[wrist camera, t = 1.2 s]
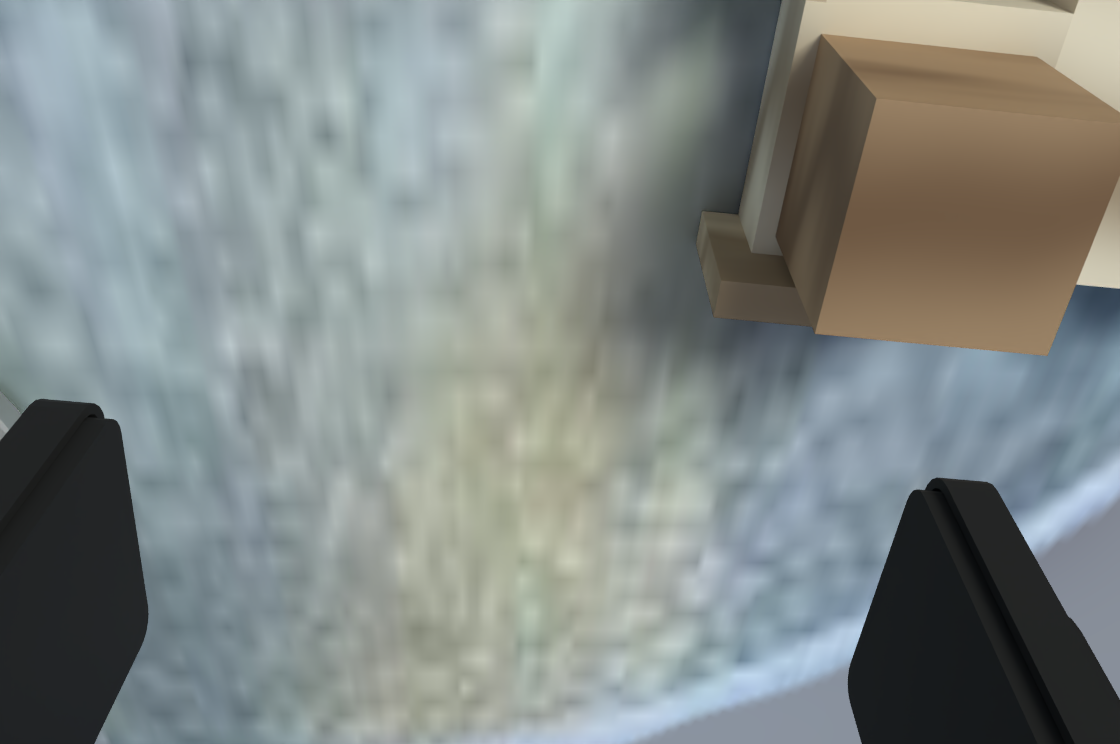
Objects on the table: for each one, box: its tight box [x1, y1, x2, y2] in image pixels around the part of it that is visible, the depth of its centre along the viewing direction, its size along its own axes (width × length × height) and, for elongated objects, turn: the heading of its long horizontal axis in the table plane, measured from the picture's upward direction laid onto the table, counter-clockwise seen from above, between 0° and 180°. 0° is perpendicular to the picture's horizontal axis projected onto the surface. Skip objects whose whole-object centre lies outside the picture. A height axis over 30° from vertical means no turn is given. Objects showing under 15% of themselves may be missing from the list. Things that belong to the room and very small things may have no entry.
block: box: [775, 34, 1120, 356], centre depth 23 cm, size 5×5×5 cm
